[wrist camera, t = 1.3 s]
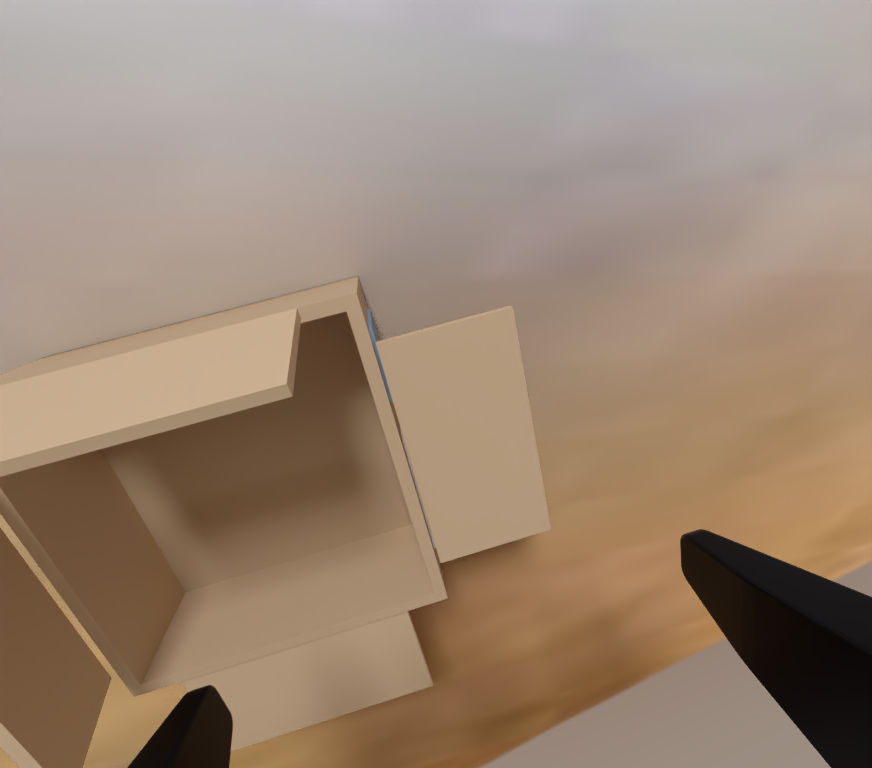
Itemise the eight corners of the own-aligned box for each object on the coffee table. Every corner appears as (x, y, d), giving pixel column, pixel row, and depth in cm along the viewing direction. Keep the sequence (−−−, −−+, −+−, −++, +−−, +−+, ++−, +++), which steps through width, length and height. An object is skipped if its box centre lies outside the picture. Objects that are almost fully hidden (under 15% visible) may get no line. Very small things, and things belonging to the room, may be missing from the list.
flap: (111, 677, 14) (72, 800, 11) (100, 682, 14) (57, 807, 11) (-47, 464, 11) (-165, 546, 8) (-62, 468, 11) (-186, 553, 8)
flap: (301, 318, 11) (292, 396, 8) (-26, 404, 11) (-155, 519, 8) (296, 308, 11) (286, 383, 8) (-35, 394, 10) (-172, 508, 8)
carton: (530, 563, 21) (571, 643, 17) (222, 660, 20) (186, 768, 16) (468, 247, 16) (504, 253, 12) (43, 357, 15) (-78, 406, 11)
